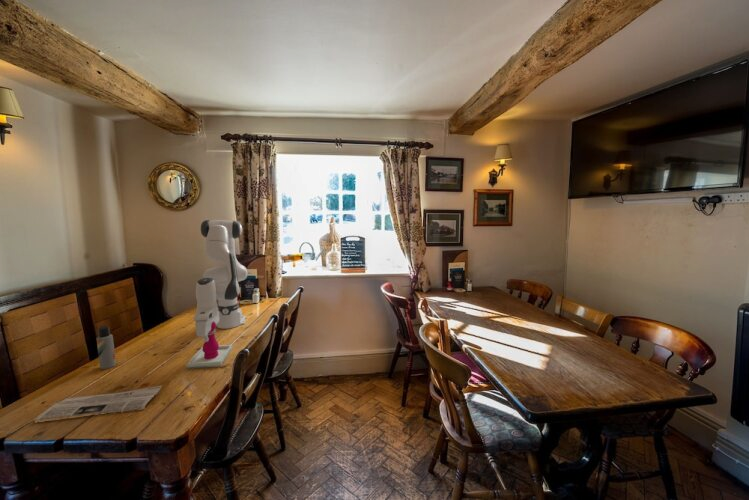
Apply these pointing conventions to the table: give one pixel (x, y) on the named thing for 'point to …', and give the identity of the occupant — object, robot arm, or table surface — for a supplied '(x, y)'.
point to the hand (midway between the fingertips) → (209, 337)
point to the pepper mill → (211, 344)
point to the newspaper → (101, 403)
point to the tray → (201, 362)
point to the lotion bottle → (105, 348)
